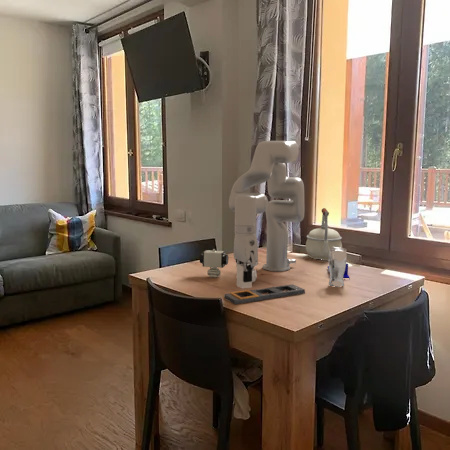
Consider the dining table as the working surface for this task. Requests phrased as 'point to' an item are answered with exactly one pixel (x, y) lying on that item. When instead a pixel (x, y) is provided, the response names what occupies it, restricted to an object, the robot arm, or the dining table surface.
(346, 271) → the mounting bracket
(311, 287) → the dining table surface
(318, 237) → the kettle
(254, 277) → the duck figurine
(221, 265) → the pneumatic valve
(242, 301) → the rail
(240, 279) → the peg
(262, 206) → the robot arm
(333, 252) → the beer glass
